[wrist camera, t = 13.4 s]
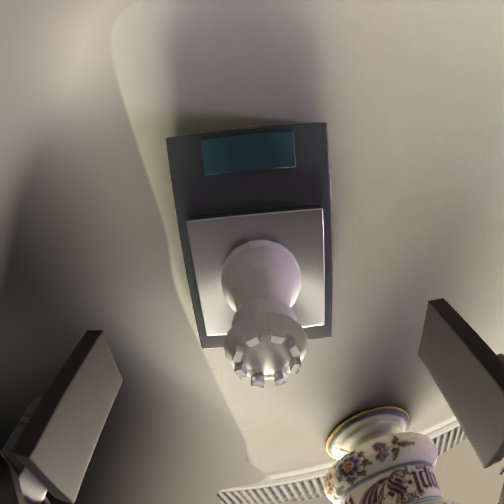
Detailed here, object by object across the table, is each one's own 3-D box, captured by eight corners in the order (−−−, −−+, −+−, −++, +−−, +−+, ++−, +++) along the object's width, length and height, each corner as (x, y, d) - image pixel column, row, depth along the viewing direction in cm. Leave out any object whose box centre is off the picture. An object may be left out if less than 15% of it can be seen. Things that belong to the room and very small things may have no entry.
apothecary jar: (354, 471, 33) (381, 587, 16) (293, 444, 30) (311, 595, 13) (433, 420, 30) (488, 538, 13) (386, 381, 27) (456, 543, 10)
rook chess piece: (210, 250, 18) (186, 329, 11) (287, 227, 18) (314, 294, 10) (235, 315, 20) (229, 413, 12) (306, 295, 19) (336, 387, 12)
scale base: (176, 137, 20) (163, 138, 17) (316, 124, 20) (328, 122, 16) (206, 326, 25) (201, 353, 21) (323, 315, 24) (332, 341, 21)
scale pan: (188, 217, 18) (185, 220, 18) (320, 204, 18) (323, 207, 18) (207, 329, 21) (206, 336, 20) (322, 319, 21) (324, 325, 20)
